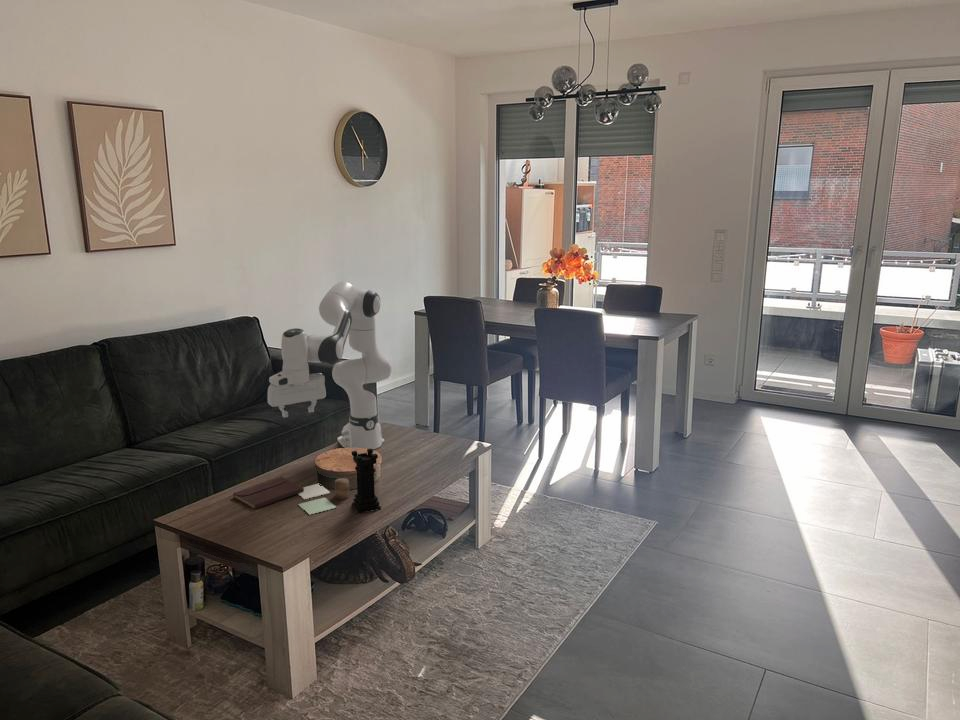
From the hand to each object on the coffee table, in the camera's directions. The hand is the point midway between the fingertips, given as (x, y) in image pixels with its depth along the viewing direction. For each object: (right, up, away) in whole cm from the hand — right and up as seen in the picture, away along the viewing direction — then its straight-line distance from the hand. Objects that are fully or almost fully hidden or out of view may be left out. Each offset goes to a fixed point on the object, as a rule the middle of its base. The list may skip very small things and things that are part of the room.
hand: (298, 414), depth 247 cm
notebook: (-13, -30, +10) cm, 34 cm away
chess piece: (+24, -33, +1) cm, 40 cm away
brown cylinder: (+14, -31, +9) cm, 35 cm away
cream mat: (+2, -30, +13) cm, 32 cm away
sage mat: (+6, -32, +1) cm, 33 cm away
